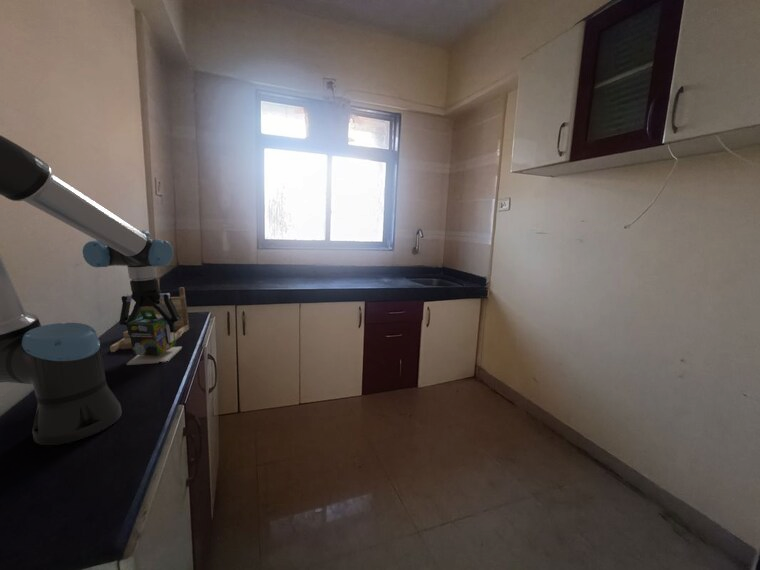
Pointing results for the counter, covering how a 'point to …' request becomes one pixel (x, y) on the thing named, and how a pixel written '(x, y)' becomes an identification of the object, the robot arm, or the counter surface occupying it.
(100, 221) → the robot arm
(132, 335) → the chalk box
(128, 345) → the offcut stack
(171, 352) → the felt mat
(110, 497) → the counter surface
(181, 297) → the rack
